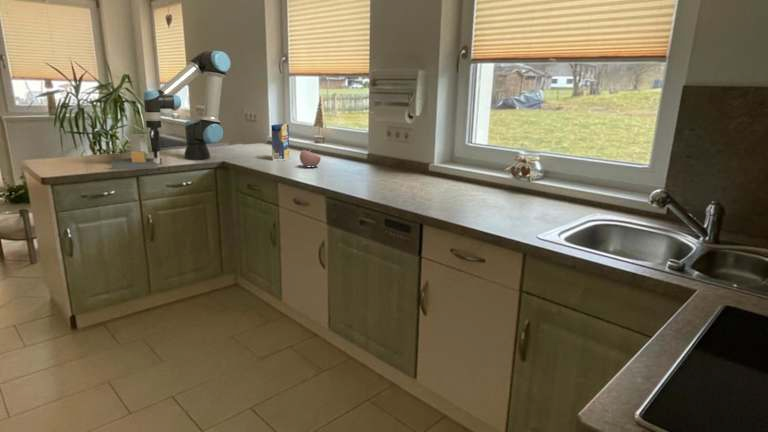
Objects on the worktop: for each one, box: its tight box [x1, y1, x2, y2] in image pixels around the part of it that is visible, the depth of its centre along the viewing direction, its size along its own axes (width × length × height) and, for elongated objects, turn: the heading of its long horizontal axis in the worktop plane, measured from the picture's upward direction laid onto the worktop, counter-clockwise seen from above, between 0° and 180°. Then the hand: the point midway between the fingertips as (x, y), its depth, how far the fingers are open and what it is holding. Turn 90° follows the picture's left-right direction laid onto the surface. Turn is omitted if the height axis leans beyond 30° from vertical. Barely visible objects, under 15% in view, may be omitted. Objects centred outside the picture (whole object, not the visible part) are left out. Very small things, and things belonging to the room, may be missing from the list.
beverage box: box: [270, 123, 290, 159], centre depth 302 cm, size 7×11×22 cm, turn 169°
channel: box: [110, 157, 163, 170], centre depth 264 cm, size 22×15×3 cm
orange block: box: [130, 151, 147, 162], centre depth 264 cm, size 6×6×8 cm
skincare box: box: [128, 133, 149, 158], centre depth 280 cm, size 8×7×16 cm
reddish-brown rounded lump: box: [299, 147, 321, 168], centre depth 279 cm, size 12×12×12 cm
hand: (156, 163), depth 267 cm, fingers closed
